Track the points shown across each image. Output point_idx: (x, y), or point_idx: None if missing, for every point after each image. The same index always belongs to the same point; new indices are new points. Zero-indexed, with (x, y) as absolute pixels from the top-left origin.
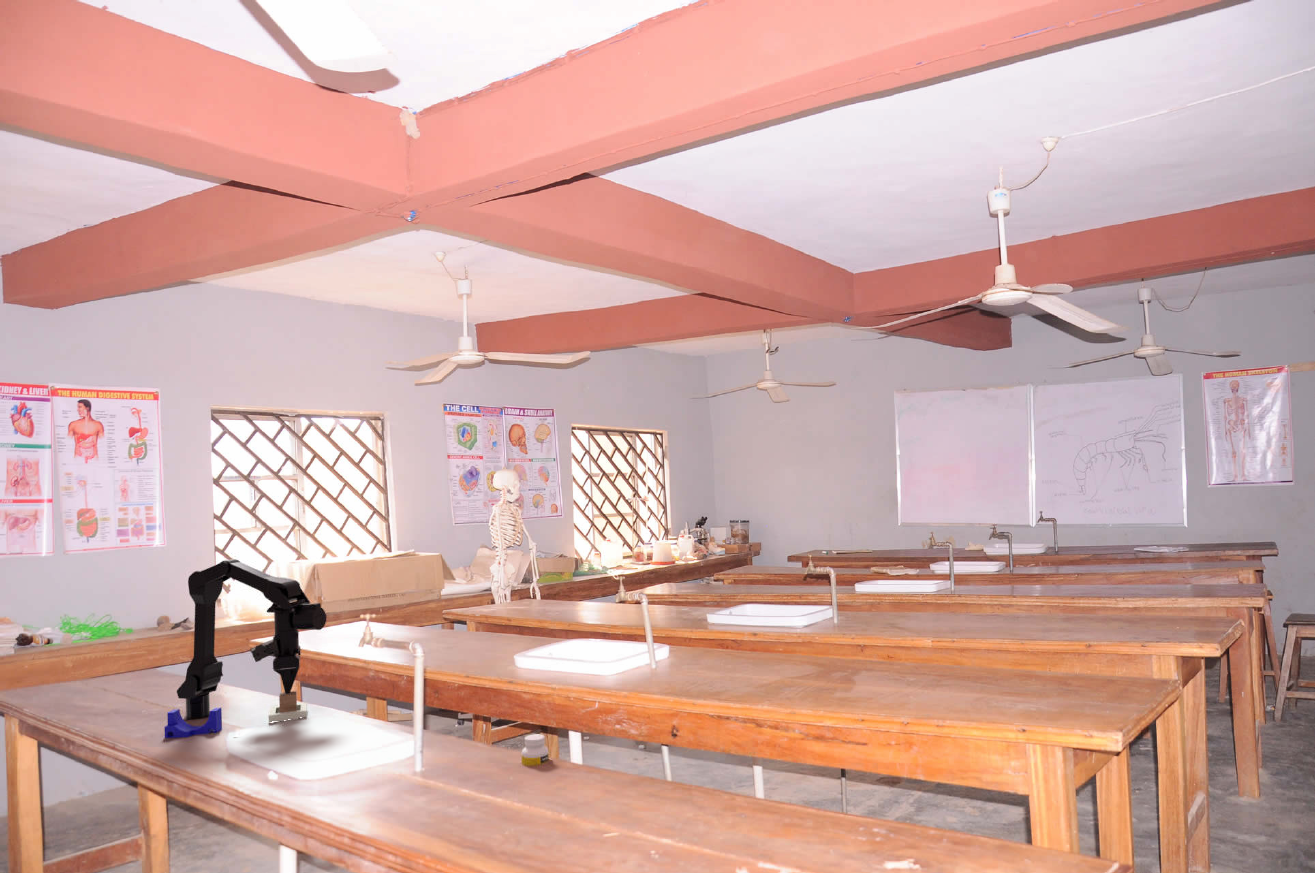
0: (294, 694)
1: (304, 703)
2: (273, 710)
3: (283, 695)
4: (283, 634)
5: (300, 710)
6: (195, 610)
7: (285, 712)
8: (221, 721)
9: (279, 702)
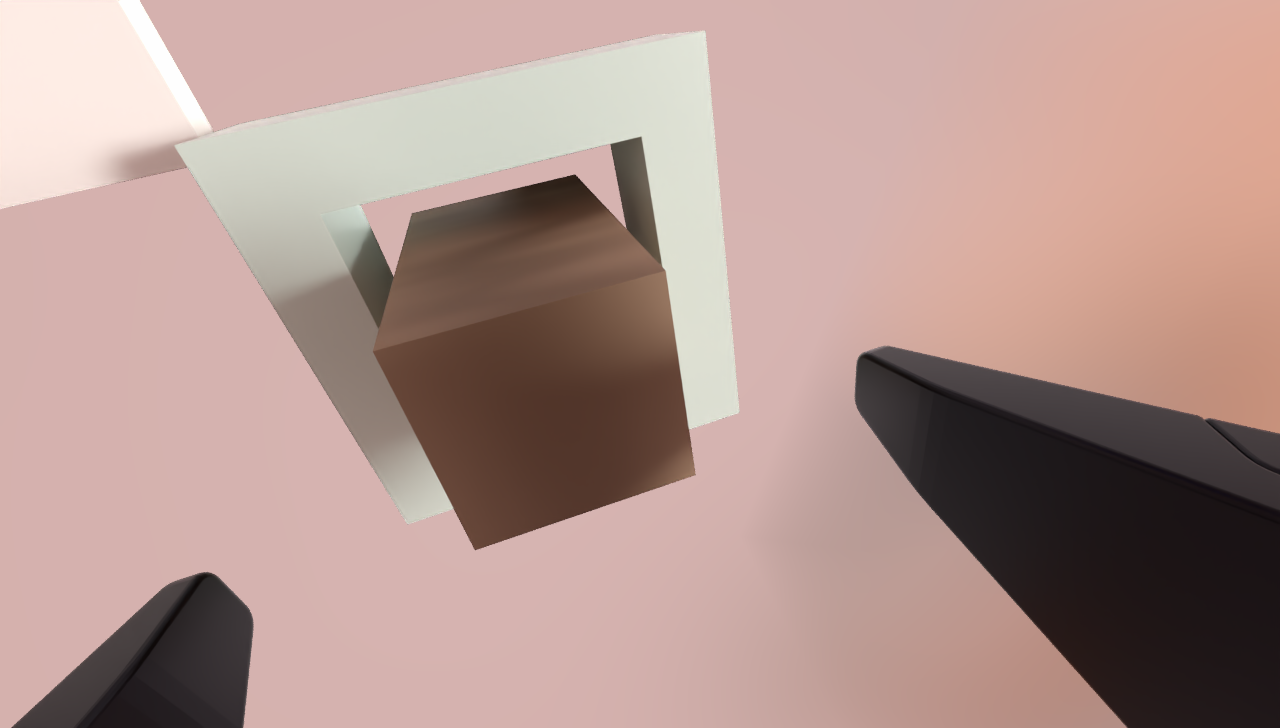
0: (477, 530)
1: (708, 404)
2: (487, 140)
3: (440, 397)
4: None
5: None
6: None
7: (359, 337)
8: None
9: (389, 301)
